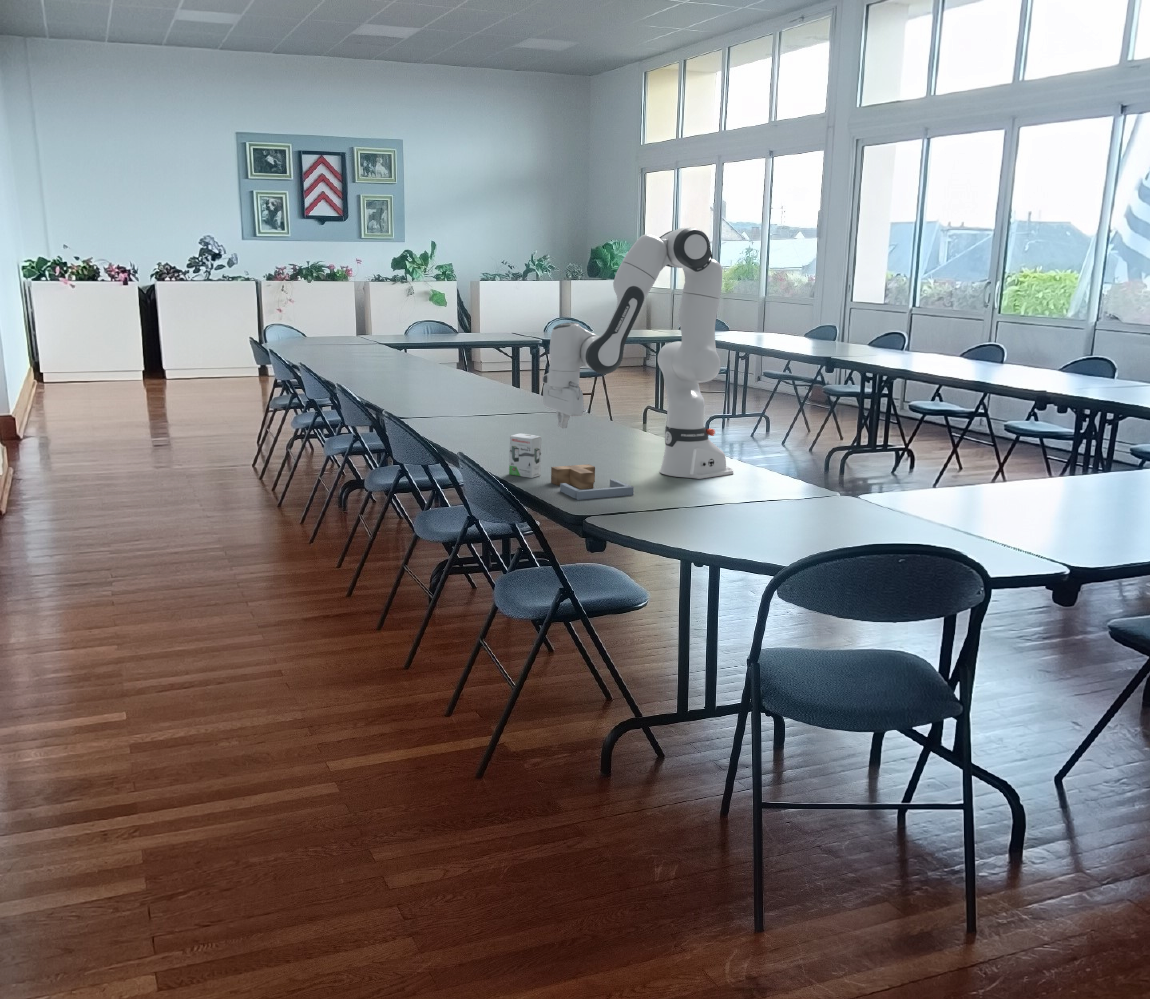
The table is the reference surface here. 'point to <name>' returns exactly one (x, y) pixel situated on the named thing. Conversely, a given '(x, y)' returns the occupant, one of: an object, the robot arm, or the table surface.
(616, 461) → the table surface
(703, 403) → the robot arm
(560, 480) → the t block
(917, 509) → the table surface
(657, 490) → the table surface
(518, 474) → the ink box
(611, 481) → the bay fence
